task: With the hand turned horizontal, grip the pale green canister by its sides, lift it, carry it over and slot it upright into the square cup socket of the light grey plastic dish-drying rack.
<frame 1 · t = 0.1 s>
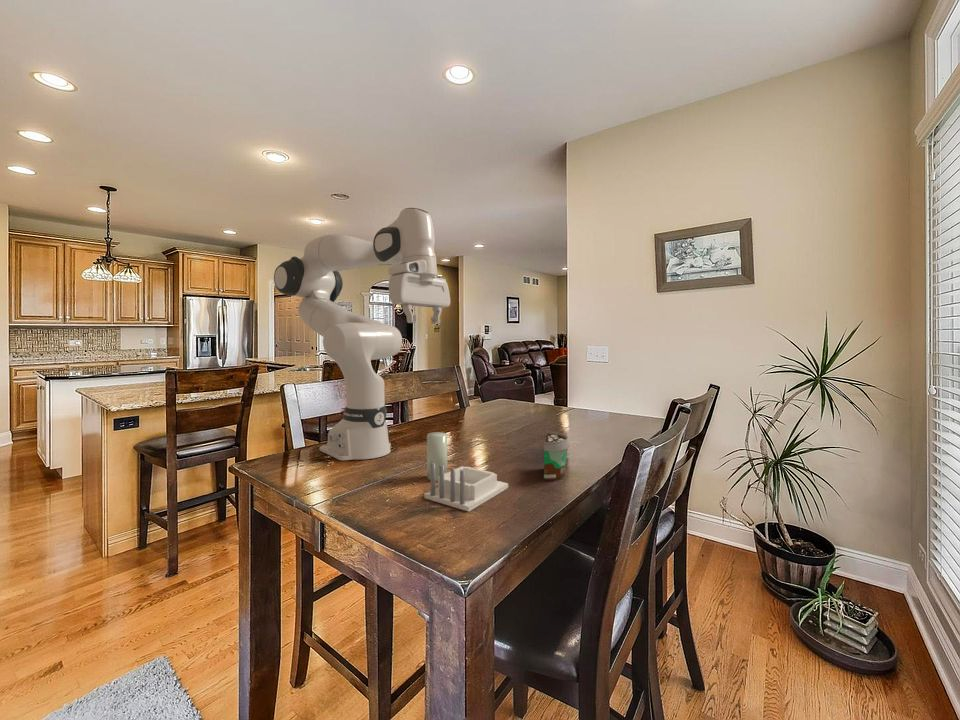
hand: (424, 323, 109), 39 cm above the table, tool pointing down, fingers open, 8 cm apart
dish rack: (467, 492, 95), on the table
food container: (556, 476, 107), on the table
pale green canister: (437, 477, 104), on the table
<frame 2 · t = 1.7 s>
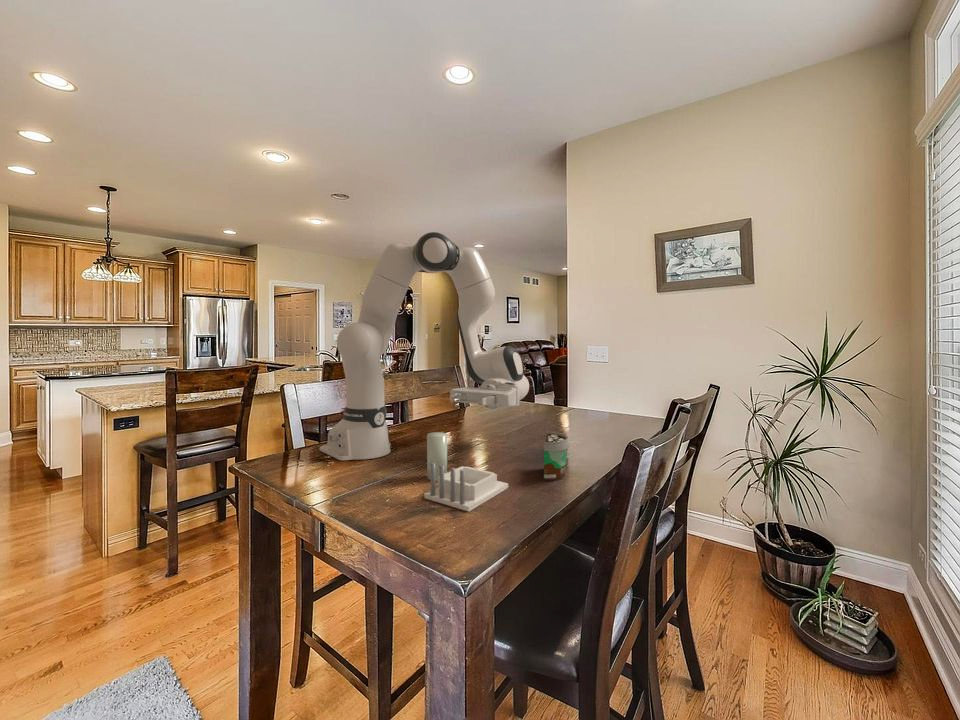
hand: (466, 400, 113), 18 cm above the table, tool horizontal, fingers open, 8 cm apart
nothing on the table moved.
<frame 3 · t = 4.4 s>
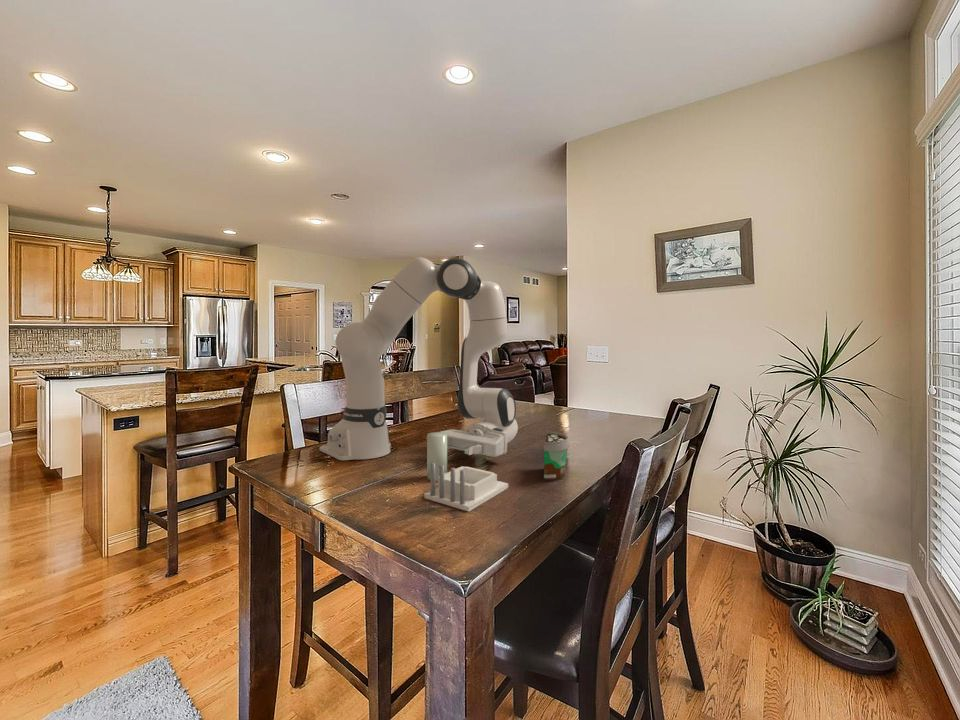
hand: (452, 448, 109), 6 cm above the table, tool horizontal, fingers open, 8 cm apart
nothing on the table moved.
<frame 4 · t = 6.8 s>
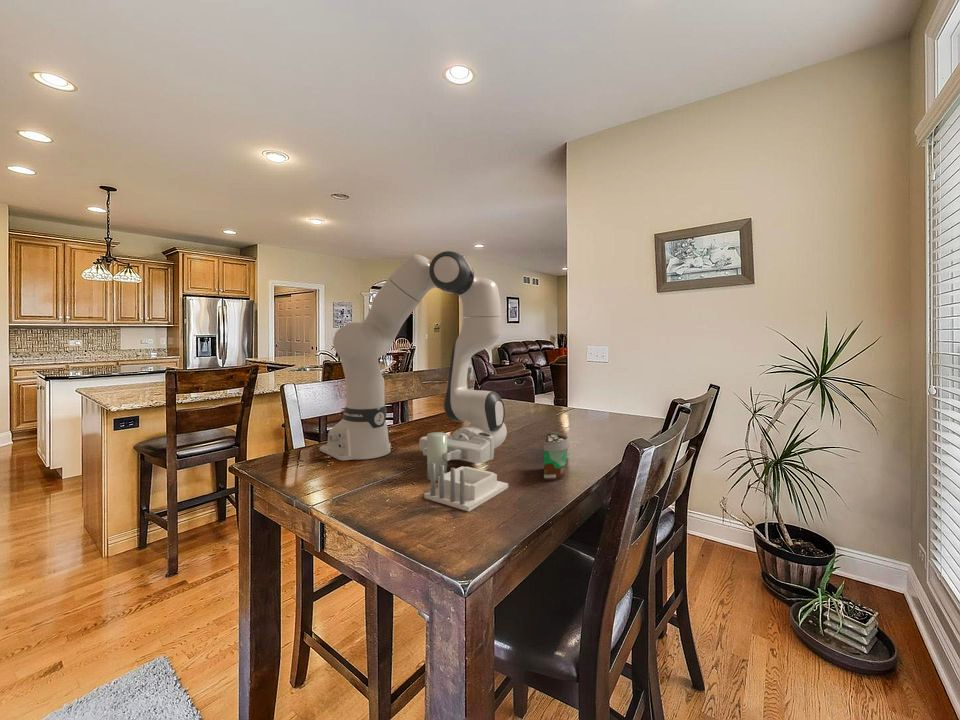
hand: (434, 454, 103), 6 cm above the table, tool horizontal, fingers closed on pale green canister, 5 cm apart
pale green canister: (437, 477, 104), on the table, touching gripper
everything else where it was.
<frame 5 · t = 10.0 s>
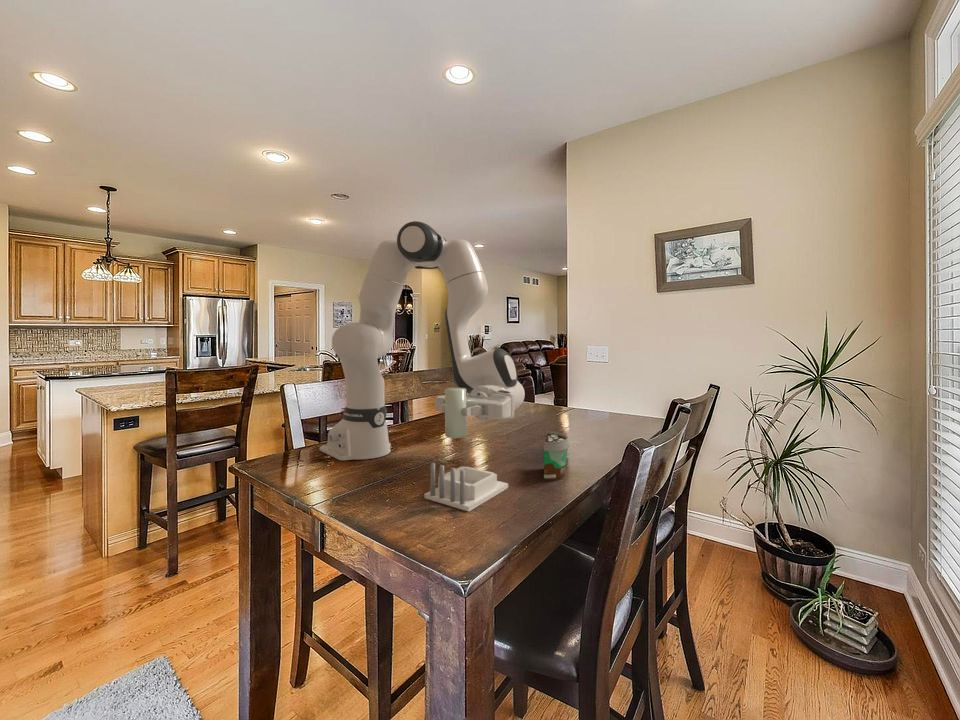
hand: (453, 410, 97), 18 cm above the table, tool horizontal, fingers closed on pale green canister, 5 cm apart
pale green canister: (455, 435, 98), point 12 cm above the table, touching gripper
everything else where it was.
when the fingers open (8 cm above the table, at t = 13.3 s): pale green canister drops 1 cm, resting on dish rack.
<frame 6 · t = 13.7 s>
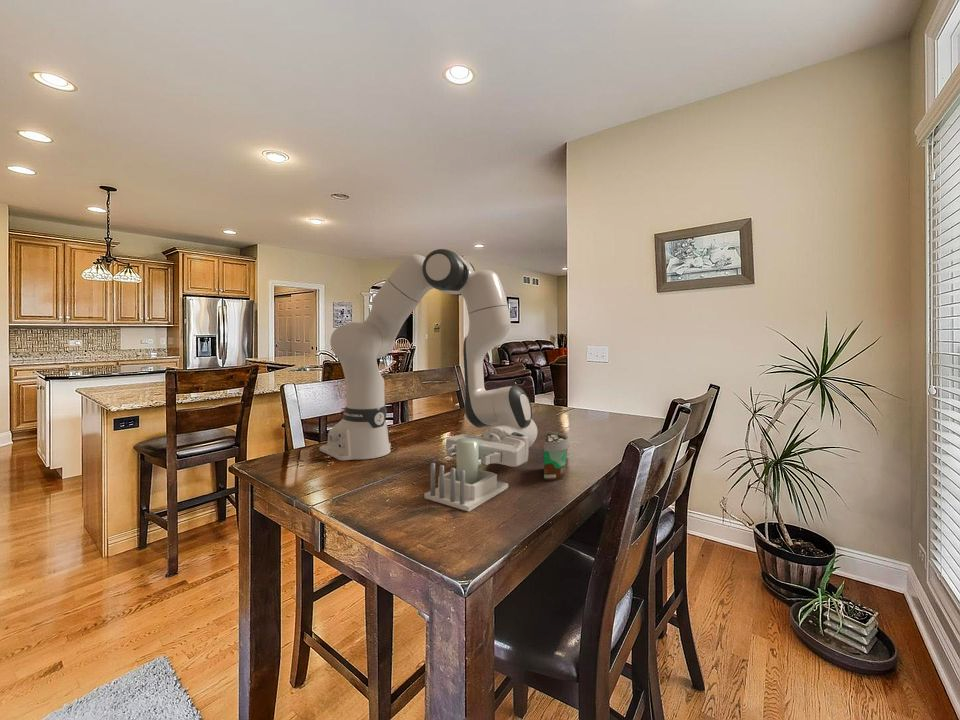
hand: (465, 457, 93), 8 cm above the table, tool horizontal, fingers open, 8 cm apart
pale green canister: (467, 488, 95), point 1 cm above the table, touching dish rack
everything else where it was.
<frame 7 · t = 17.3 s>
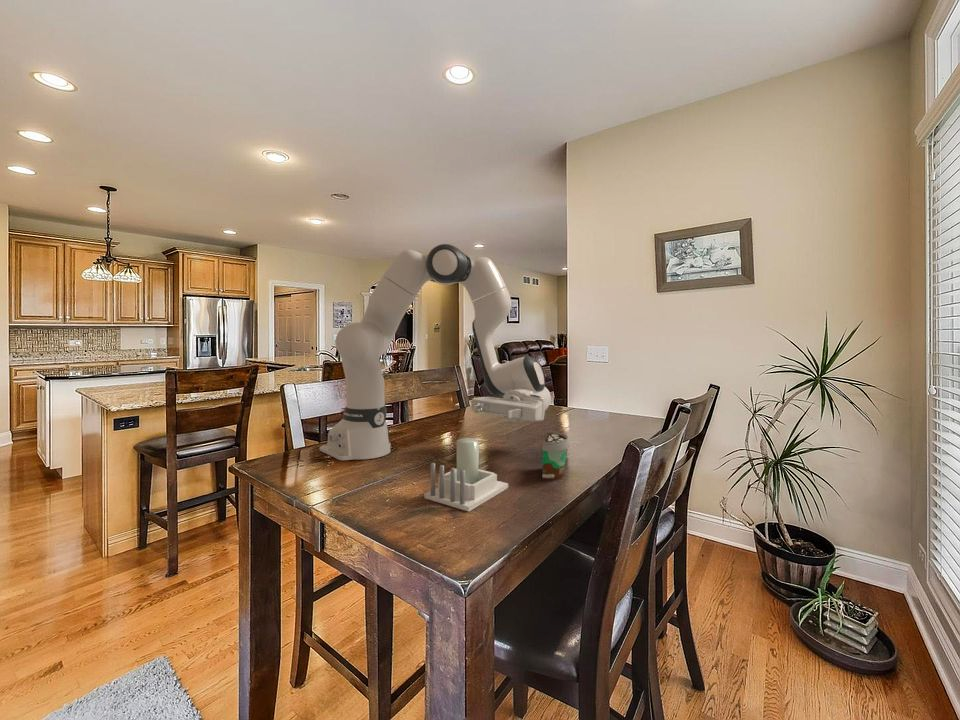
hand: (490, 412, 107), 16 cm above the table, tool horizontal, fingers open, 8 cm apart
nothing on the table moved.
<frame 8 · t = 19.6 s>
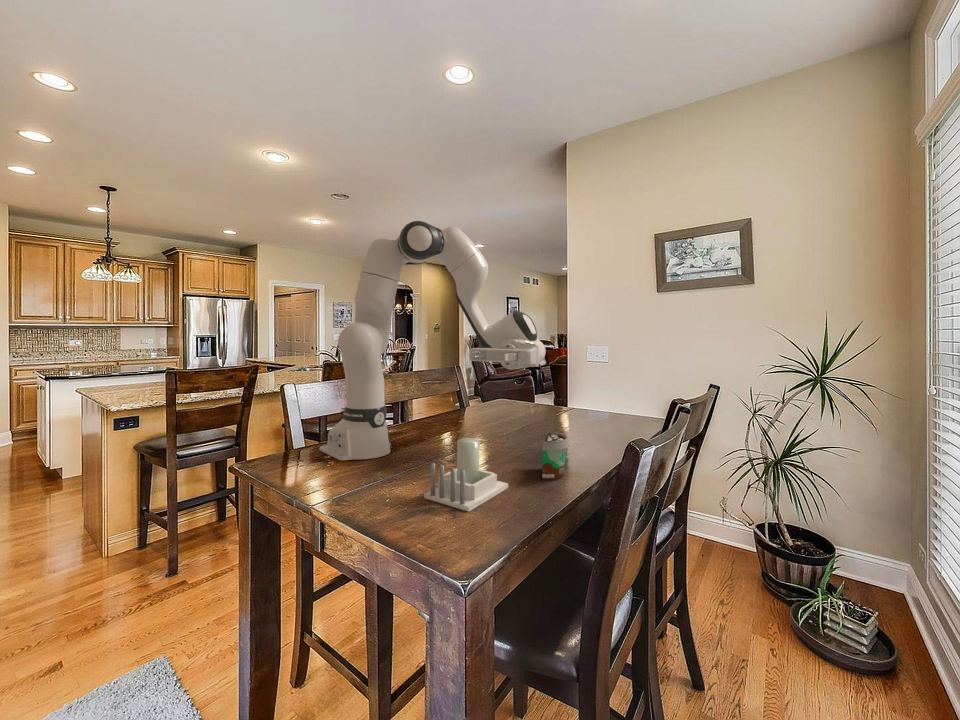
hand: (487, 356, 112), 30 cm above the table, tool horizontal, fingers open, 8 cm apart
nothing on the table moved.
at the end: pale green canister 0.0 cm off-centre on the dish rack, point 1.0 cm above the dish rack's base; pale green canister tilted 0°; the gripper is holding nothing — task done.
